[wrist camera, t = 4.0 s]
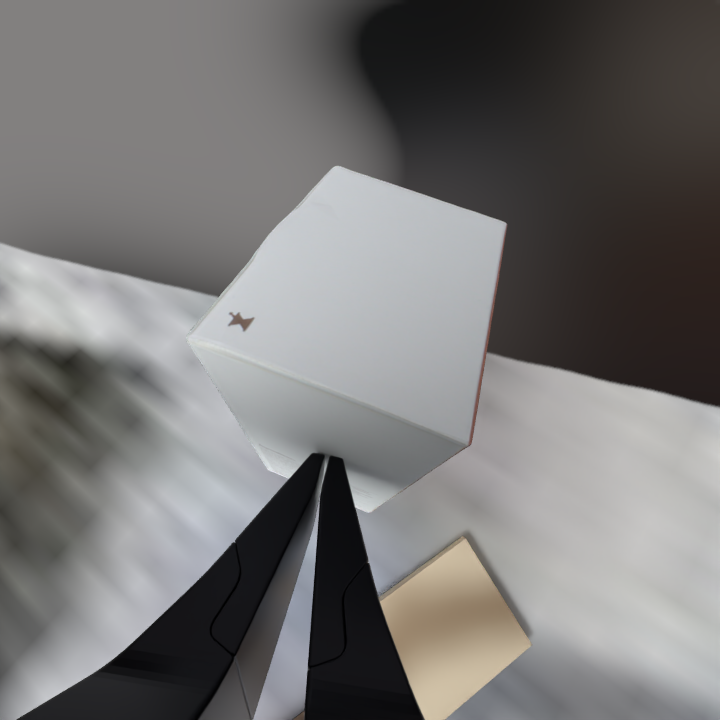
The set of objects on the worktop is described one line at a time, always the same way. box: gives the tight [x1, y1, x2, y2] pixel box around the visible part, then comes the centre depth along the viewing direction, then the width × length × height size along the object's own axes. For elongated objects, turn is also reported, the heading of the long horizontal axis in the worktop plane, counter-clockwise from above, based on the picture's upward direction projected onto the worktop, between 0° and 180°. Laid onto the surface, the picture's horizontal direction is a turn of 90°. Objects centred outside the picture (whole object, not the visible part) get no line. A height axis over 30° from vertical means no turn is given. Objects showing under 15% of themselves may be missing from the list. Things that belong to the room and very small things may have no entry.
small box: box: [186, 166, 507, 513], centre depth 13 cm, size 8×6×13 cm
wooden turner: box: [293, 536, 532, 720], centre depth 16 cm, size 6×16×1 cm, turn 121°
